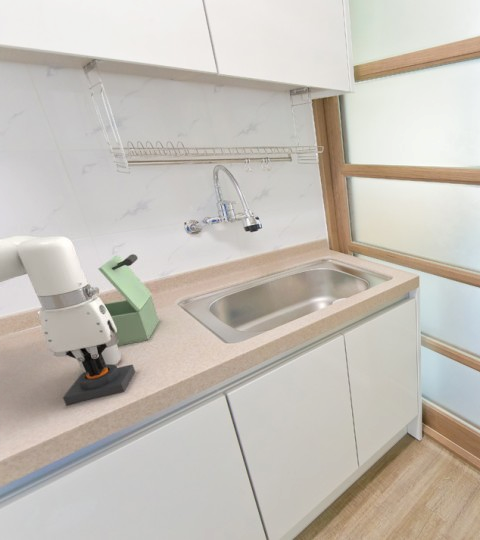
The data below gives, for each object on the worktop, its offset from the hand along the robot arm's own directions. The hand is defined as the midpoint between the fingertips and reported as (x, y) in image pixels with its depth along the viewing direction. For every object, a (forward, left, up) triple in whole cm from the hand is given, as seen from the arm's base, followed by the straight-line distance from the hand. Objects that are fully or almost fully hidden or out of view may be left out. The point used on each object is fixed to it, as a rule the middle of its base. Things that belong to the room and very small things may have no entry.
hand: (97, 371), depth 73 cm
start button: (0, 0, -2) cm, 2 cm away
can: (-3, +11, -5) cm, 12 cm away
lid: (+1, +27, +12) cm, 29 cm away
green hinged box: (-3, +27, -4) cm, 28 cm away
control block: (0, 0, -4) cm, 4 cm away
